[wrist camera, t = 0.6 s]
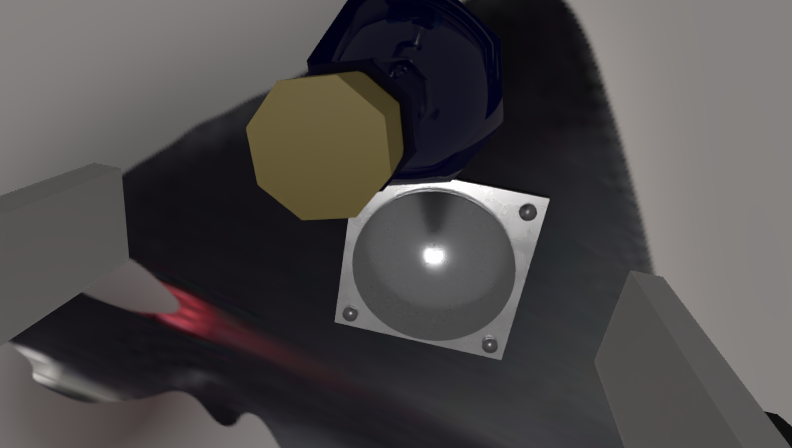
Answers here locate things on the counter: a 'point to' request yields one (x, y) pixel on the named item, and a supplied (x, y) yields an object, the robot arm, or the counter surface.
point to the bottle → (379, 107)
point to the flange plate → (440, 263)
